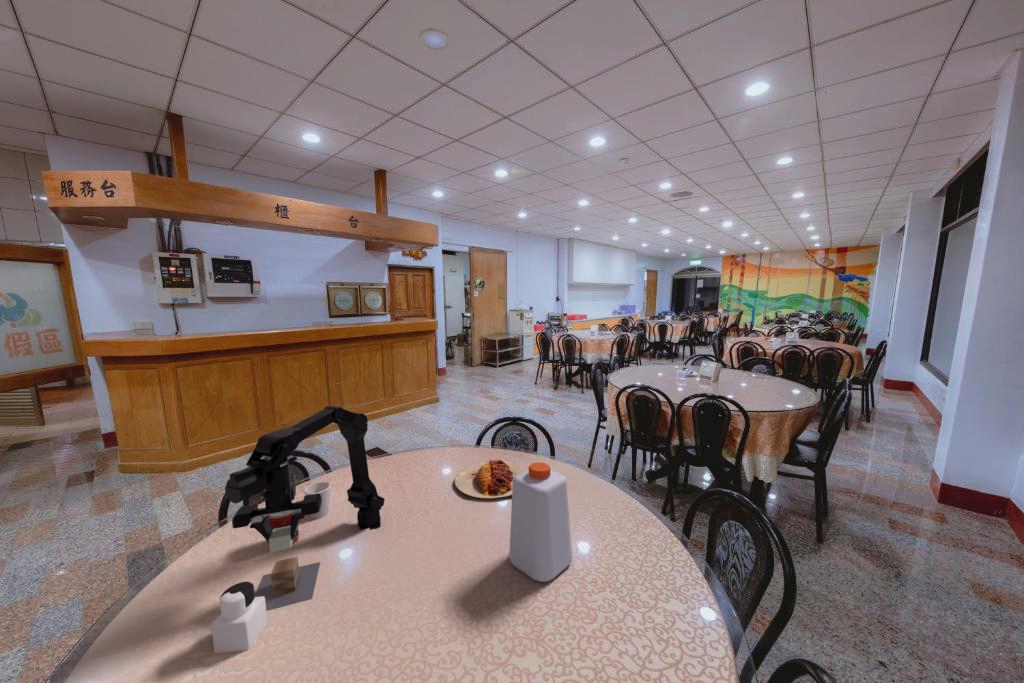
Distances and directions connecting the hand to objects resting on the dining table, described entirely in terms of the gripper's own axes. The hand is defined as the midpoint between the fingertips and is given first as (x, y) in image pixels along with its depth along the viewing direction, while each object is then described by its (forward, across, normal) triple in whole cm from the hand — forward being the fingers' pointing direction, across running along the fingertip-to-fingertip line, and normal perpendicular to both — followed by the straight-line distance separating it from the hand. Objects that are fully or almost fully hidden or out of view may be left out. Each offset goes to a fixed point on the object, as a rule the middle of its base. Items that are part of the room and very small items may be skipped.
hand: (282, 541), depth 95 cm
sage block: (+1, 0, 0) cm, 1 cm away
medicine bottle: (+14, +6, +13) cm, 20 cm away
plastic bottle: (+13, -66, +15) cm, 69 cm away
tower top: (+10, 0, 0) cm, 10 cm away
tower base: (+13, 0, 0) cm, 13 cm away
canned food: (+13, +5, -22) cm, 26 cm away
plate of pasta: (+13, -69, -34) cm, 78 cm away
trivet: (+13, 0, 0) cm, 13 cm away
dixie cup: (+13, -3, -35) cm, 37 cm away
